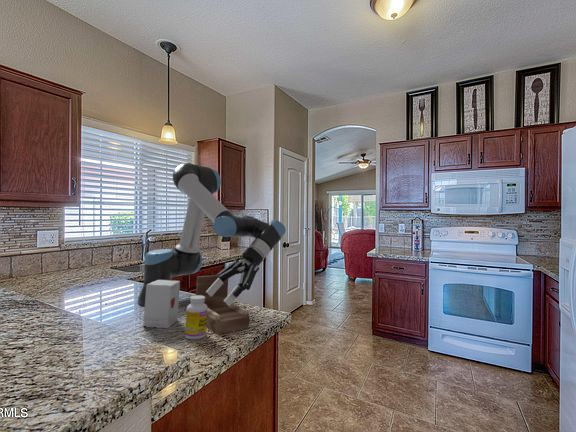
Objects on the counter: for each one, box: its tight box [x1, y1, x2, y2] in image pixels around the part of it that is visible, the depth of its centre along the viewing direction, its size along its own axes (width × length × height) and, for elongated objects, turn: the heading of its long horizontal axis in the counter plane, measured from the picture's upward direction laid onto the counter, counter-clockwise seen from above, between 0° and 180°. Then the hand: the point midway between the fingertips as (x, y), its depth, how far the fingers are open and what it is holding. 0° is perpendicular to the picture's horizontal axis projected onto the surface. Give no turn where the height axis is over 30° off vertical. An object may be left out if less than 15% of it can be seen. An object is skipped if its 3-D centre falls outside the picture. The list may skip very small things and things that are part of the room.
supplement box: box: [142, 280, 181, 329], centre depth 105 cm, size 9×9×15 cm
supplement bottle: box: [184, 294, 207, 340], centre depth 96 cm, size 7×7×13 cm
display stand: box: [195, 274, 251, 335], centre depth 110 cm, size 20×13×16 cm, turn 39°
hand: (217, 298), depth 99 cm, fingers open, 13 cm apart
